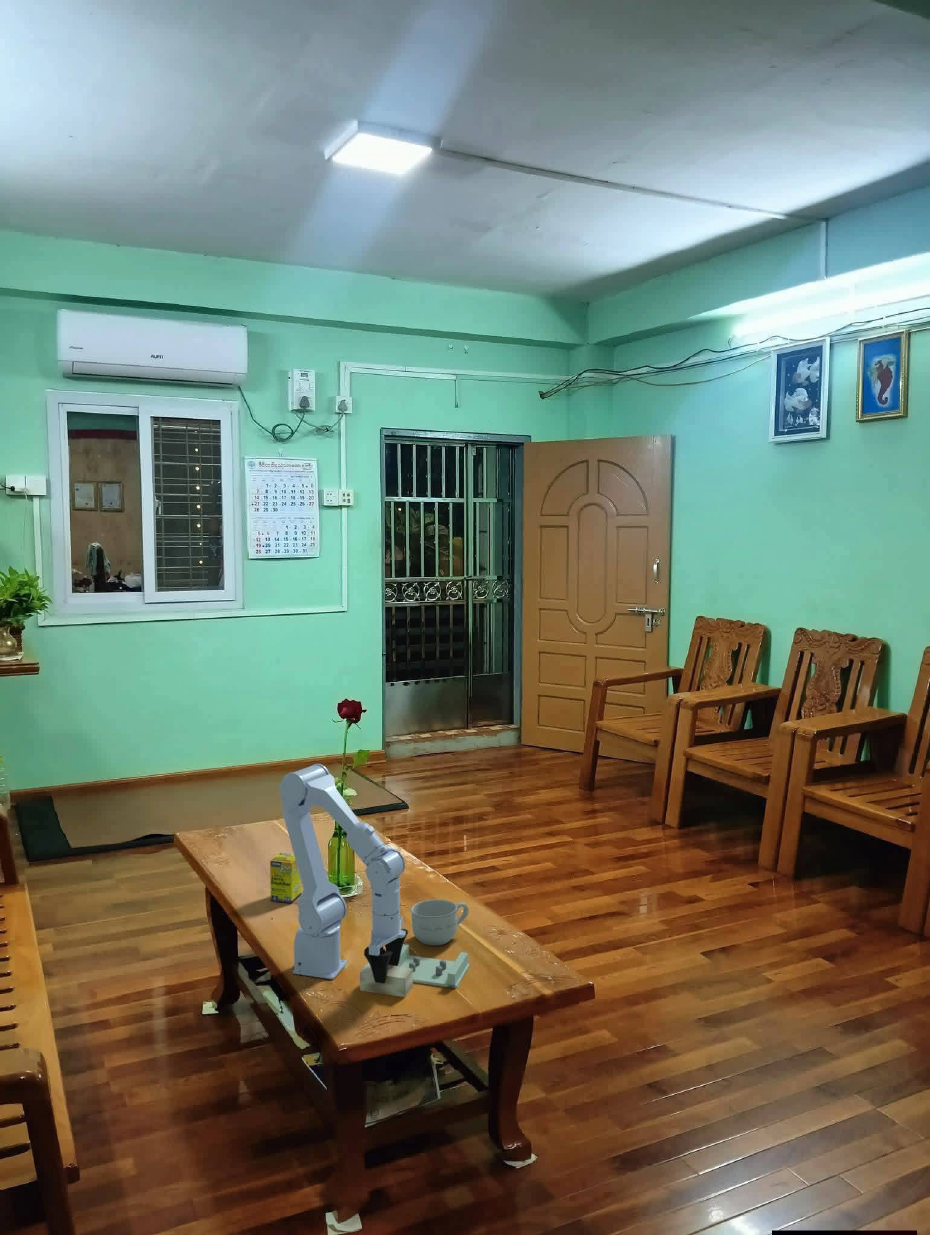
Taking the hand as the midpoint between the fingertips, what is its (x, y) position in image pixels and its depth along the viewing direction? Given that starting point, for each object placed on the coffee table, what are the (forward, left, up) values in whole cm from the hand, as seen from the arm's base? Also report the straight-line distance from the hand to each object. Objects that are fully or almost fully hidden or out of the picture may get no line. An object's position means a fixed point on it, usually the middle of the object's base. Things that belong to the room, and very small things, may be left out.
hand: (386, 973), depth 194 cm
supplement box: (-41, +36, -4) cm, 55 cm away
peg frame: (+6, +9, -3) cm, 11 cm away
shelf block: (0, 0, -4) cm, 4 cm away
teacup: (+4, +25, -4) cm, 26 cm away
